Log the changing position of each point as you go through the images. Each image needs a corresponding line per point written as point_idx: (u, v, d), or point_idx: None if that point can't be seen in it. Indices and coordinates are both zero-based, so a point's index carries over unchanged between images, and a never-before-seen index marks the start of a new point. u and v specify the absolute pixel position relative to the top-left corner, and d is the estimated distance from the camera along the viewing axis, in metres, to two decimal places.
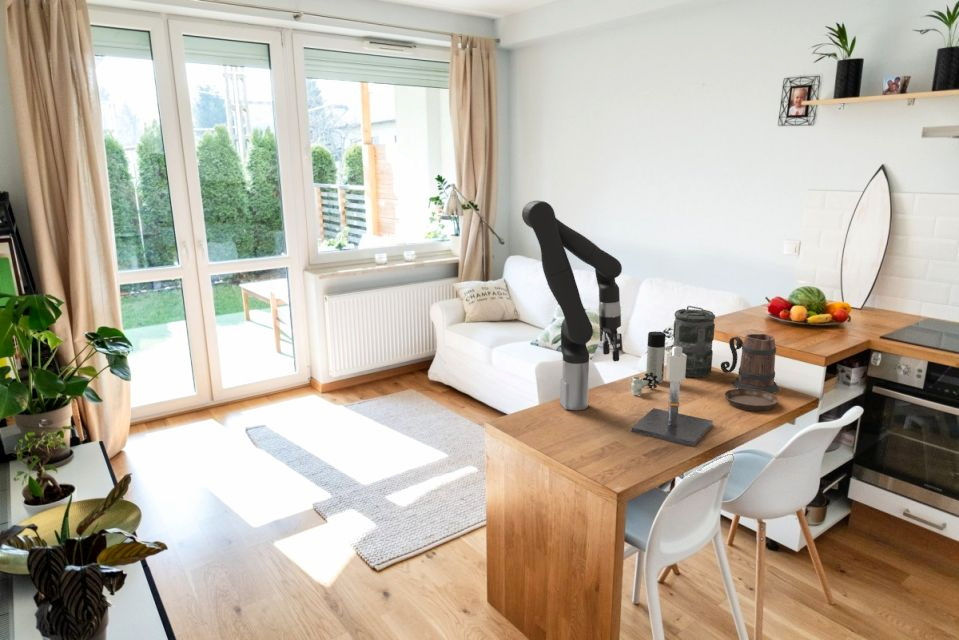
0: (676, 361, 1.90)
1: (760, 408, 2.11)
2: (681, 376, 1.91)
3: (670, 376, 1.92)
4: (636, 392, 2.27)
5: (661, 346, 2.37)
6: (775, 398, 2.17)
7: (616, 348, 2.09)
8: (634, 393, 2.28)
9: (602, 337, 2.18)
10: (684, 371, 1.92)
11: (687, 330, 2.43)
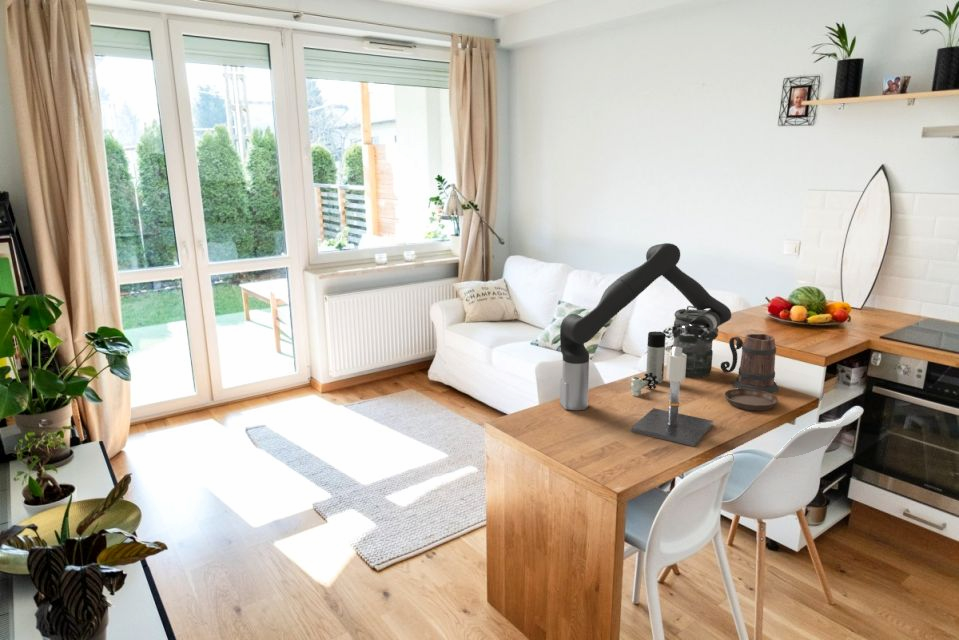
0: (676, 361, 1.90)
1: (760, 408, 2.11)
2: (681, 376, 1.91)
3: (670, 376, 1.92)
4: (635, 392, 2.27)
5: (661, 346, 2.37)
6: (775, 398, 2.17)
7: (715, 332, 2.00)
8: (633, 393, 2.27)
9: (685, 325, 2.07)
10: (684, 371, 1.92)
11: None
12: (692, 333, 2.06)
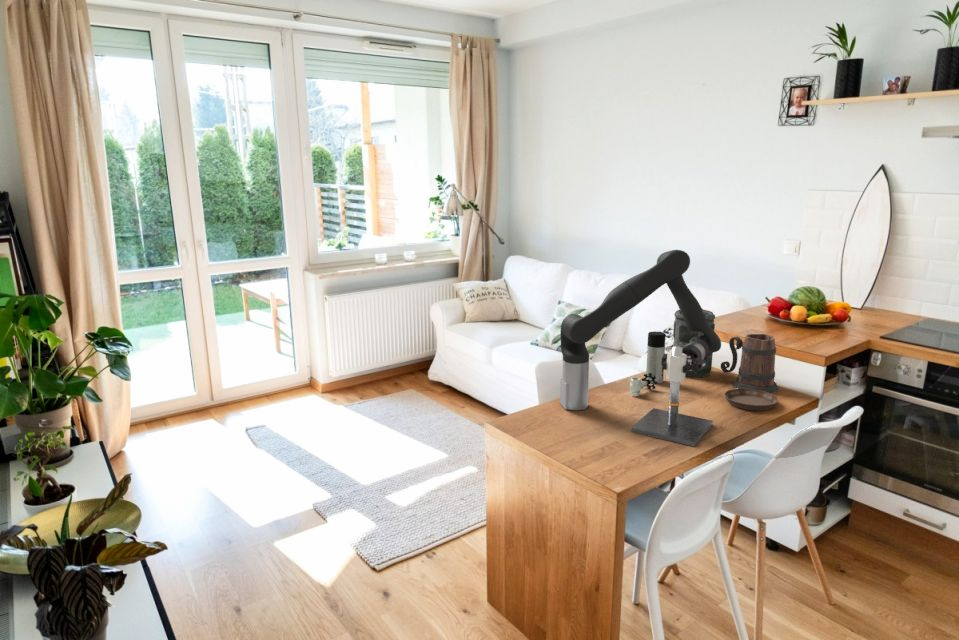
0: (676, 361, 1.90)
1: (760, 408, 2.11)
2: (681, 376, 1.91)
3: (670, 376, 1.92)
4: (635, 393, 2.27)
5: (661, 346, 2.37)
6: (775, 398, 2.17)
7: (698, 364, 1.92)
8: (633, 394, 2.27)
9: None
10: None
11: (687, 330, 2.43)
12: None
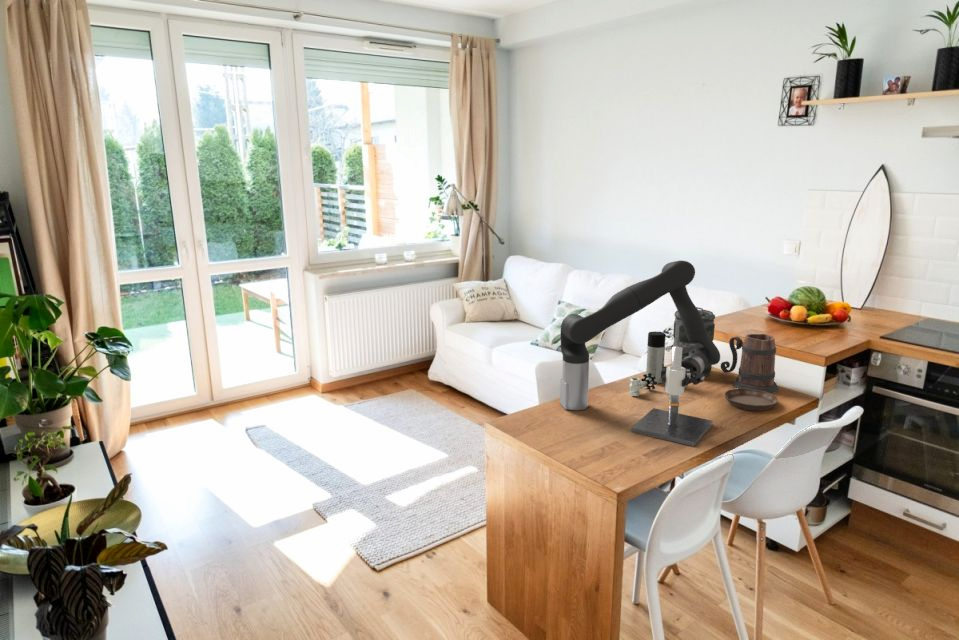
0: (675, 375, 1.91)
1: (760, 408, 2.11)
2: (680, 390, 1.92)
3: (669, 390, 1.93)
4: (634, 393, 2.26)
5: (661, 346, 2.37)
6: (775, 398, 2.17)
7: (697, 378, 1.94)
8: (632, 394, 2.27)
9: None
10: None
11: None
12: None
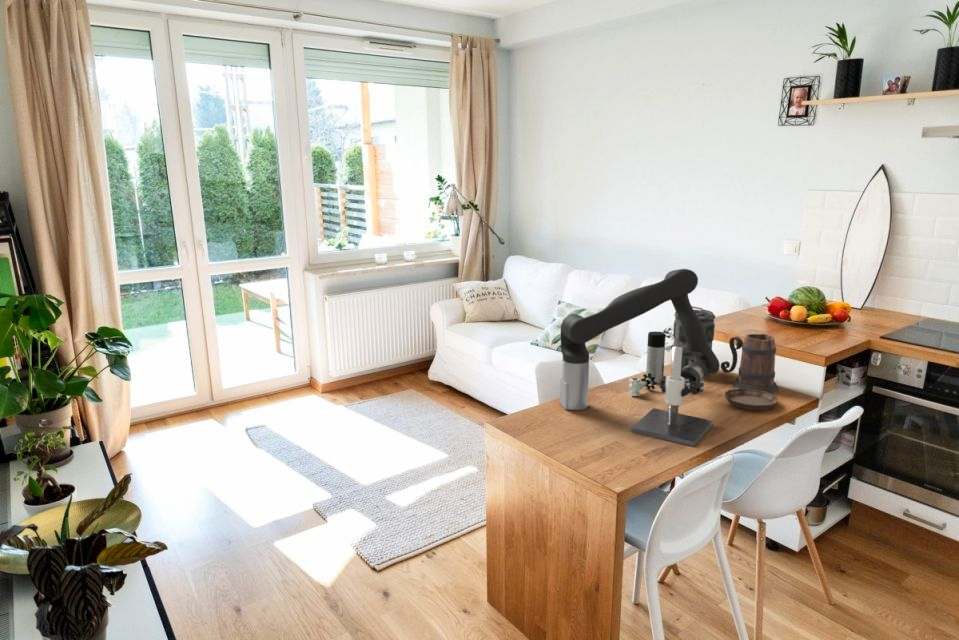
0: (674, 385, 1.92)
1: (760, 408, 2.11)
2: (679, 400, 1.93)
3: (669, 400, 1.94)
4: (634, 393, 2.26)
5: (661, 346, 2.37)
6: (775, 398, 2.17)
7: (697, 387, 1.94)
8: (632, 394, 2.27)
9: None
10: None
11: None
12: None
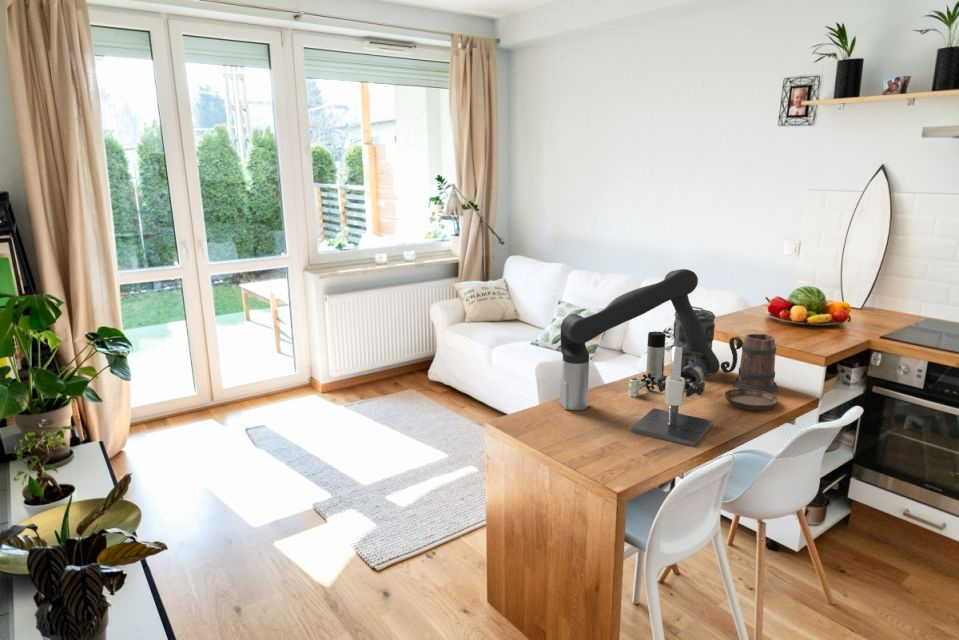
0: (674, 385, 1.92)
1: (760, 408, 2.11)
2: (679, 400, 1.93)
3: (669, 400, 1.94)
4: (633, 393, 2.26)
5: (661, 346, 2.37)
6: (775, 398, 2.17)
7: (701, 388, 1.94)
8: (631, 394, 2.26)
9: None
10: (682, 395, 1.94)
11: None
12: None
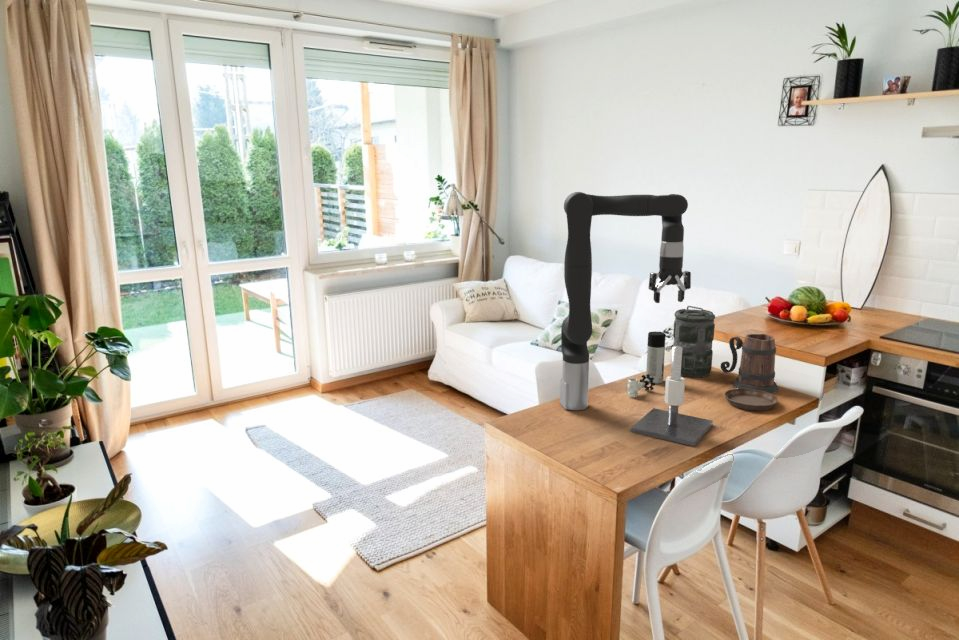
0: (674, 385, 1.92)
1: (760, 408, 2.11)
2: (679, 400, 1.93)
3: (669, 400, 1.94)
4: (632, 394, 2.25)
5: (661, 346, 2.37)
6: (775, 398, 2.17)
7: None
8: (630, 395, 2.26)
9: (663, 283, 2.04)
10: (682, 395, 1.94)
11: (687, 330, 2.43)
12: None
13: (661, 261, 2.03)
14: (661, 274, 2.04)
